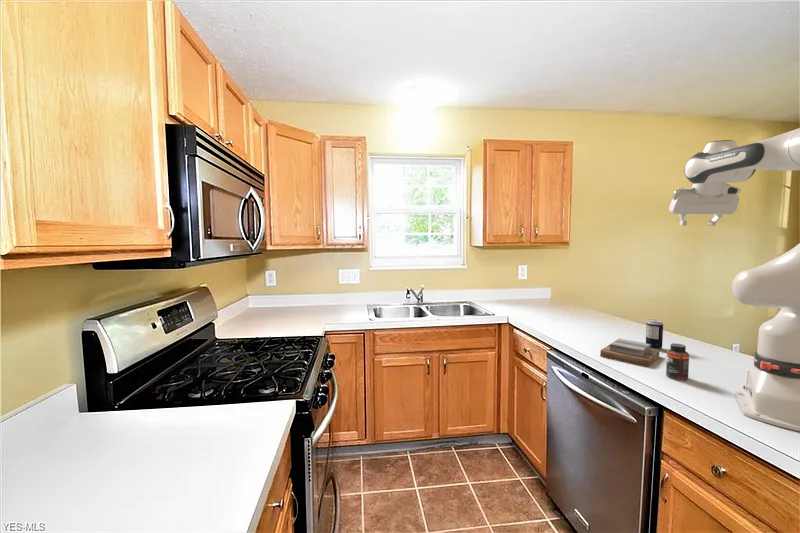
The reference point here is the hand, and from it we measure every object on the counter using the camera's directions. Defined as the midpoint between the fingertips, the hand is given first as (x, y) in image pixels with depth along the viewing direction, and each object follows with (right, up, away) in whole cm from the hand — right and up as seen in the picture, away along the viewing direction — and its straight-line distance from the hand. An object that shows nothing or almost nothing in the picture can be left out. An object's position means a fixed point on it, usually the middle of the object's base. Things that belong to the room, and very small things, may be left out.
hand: (696, 225), depth 130 cm
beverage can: (-4, -50, +17) cm, 53 cm away
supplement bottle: (-17, -53, -12) cm, 57 cm away
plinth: (-20, -51, +8) cm, 56 cm away
